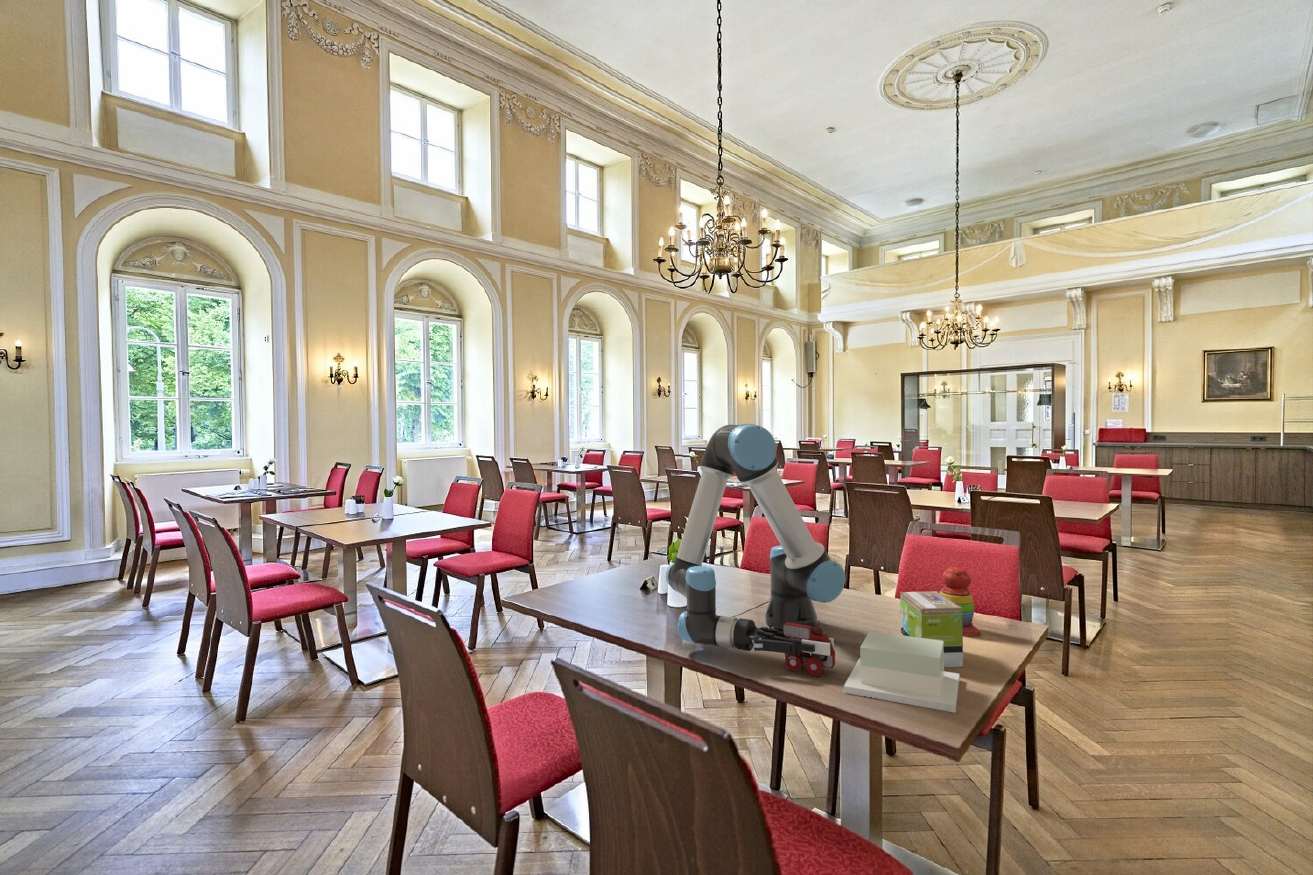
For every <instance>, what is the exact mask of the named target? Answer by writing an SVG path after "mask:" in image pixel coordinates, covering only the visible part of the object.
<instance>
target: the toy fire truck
mask: <svg viewBox="0 0 1313 875" xmlns="http://www.w3.org/2000/svg"><path fill="white" fill-rule="evenodd" d="M783 634H784V635H785V638H789V639H794V640H799V641H801V643H802V639H803V640H811V641H813V640H815V641H818V642H825V643H830V656H827V655H820V654H814V653H807V652H802V651H801V655H797V652H796V654H786V653H784V657H785V658H784V664H785V666H786V668H787V669H788V670H789V671H791V672H798V671H799V670H801V669H802V667H803V665H804V664H805V669H806V671H807V673H808V674H809V675H811V676H819V675H821V674H822V673H823V672H824V669H825V668H827V669H832V668H834V667H835V665H836V651H835V649H833V646H832V644H831V642H830V640H829V638H830V637H829V636H828V635H827V634H826V633H825V634H824V630H823V628H822V627H821V626H815V627H814V628H812V627H811V626H807V625H801V624H795V623H789V622H786V623H785V624H784V625H783Z"/></svg>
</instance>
